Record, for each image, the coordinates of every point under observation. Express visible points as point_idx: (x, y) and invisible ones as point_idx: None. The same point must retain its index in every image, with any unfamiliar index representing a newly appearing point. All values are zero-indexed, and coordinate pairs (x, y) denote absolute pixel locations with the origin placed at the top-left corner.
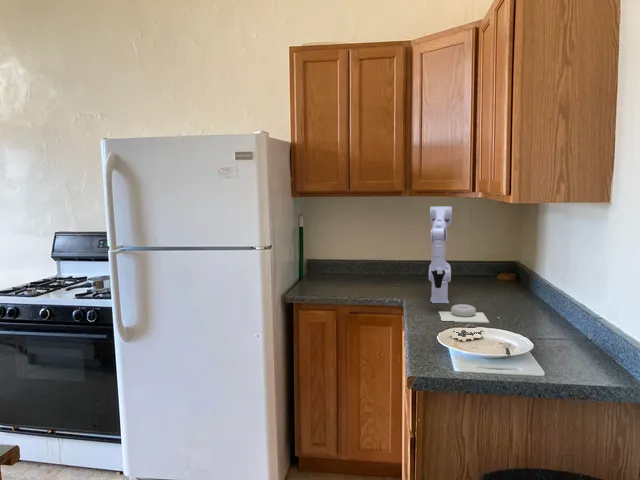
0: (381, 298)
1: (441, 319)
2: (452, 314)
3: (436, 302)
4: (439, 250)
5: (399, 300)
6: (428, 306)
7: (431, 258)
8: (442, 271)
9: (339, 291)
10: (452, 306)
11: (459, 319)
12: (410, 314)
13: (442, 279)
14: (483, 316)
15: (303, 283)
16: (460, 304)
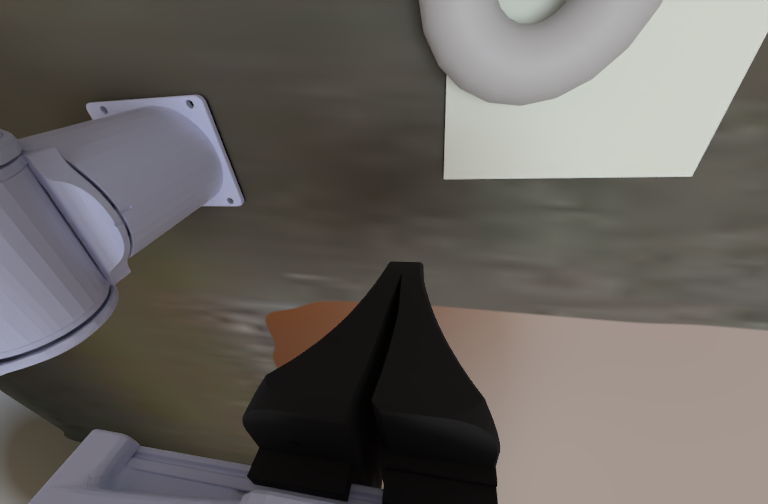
0: (254, 361)
1: (658, 175)
2: None
3: (234, 177)
4: None
5: (256, 318)
6: (317, 220)
7: None
8: (352, 436)
9: (227, 426)
10: (498, 95)
11: (707, 27)
12: (489, 305)
13: (440, 329)
14: None
15: None
16: (458, 5)
